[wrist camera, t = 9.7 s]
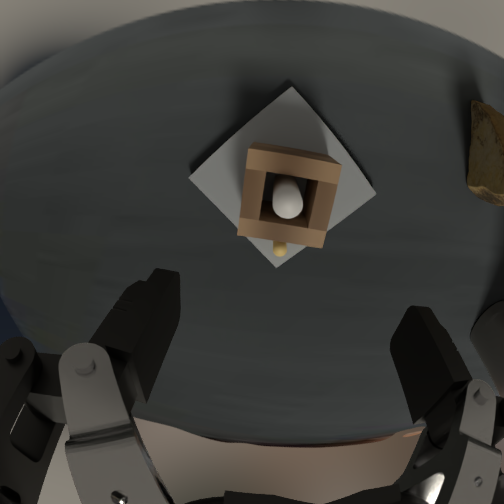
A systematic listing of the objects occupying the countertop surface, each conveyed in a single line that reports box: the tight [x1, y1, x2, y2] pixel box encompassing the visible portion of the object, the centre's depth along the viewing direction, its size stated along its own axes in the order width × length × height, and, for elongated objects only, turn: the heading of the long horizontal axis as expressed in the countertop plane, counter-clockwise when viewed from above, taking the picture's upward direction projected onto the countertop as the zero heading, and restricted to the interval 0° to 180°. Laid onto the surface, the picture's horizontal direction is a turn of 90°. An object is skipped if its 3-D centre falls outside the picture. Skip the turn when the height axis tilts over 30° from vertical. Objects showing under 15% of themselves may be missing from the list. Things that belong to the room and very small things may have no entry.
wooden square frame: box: [237, 142, 342, 248], centre depth 21 cm, size 6×6×5 cm
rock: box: [467, 100, 504, 206], centre depth 17 cm, size 11×9×10 cm
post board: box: [189, 87, 376, 268], centre depth 21 cm, size 12×12×7 cm
